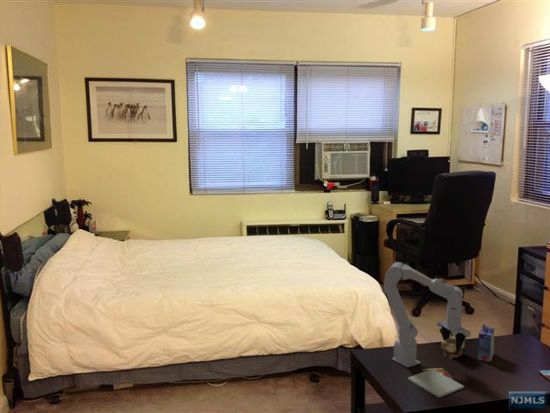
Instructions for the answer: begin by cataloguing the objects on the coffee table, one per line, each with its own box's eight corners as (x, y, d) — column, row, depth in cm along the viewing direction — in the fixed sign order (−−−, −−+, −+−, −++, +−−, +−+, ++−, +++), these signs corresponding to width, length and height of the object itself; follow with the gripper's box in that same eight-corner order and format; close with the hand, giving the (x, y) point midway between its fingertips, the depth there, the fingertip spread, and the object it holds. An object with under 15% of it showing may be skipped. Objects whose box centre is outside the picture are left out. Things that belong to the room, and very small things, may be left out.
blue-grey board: (407, 379, 191) (407, 377, 191) (431, 370, 198) (432, 369, 198) (439, 397, 178) (439, 395, 177) (464, 387, 185) (464, 385, 184)
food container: (467, 361, 207) (468, 339, 205) (452, 359, 208) (453, 338, 207) (461, 349, 219) (462, 328, 217) (447, 347, 220) (448, 327, 219)
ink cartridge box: (480, 350, 217) (482, 320, 215) (493, 353, 214) (495, 323, 212) (477, 359, 208) (478, 328, 206) (490, 362, 205) (492, 330, 203)
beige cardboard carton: (440, 356, 197) (441, 341, 196) (453, 350, 202) (454, 336, 201) (450, 360, 193) (451, 345, 192) (463, 354, 198) (464, 340, 197)
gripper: (475, 319, 191) (473, 351, 193) (444, 309, 203) (443, 339, 205) (465, 323, 187) (463, 355, 189) (434, 312, 199) (433, 343, 201)
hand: (452, 347), depth 197 cm, fingers closed on beige cardboard carton, 5 cm apart
